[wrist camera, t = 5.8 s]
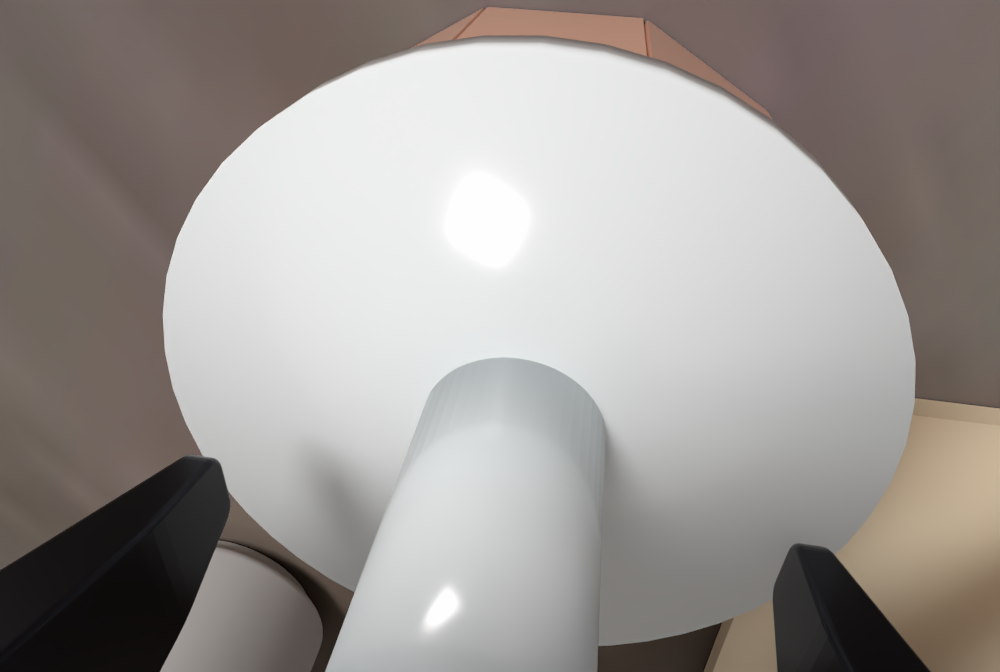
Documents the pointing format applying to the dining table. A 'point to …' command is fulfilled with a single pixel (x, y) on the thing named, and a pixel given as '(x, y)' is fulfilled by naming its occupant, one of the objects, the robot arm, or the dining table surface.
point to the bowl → (588, 36)
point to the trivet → (918, 550)
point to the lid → (536, 351)
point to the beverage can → (247, 619)
